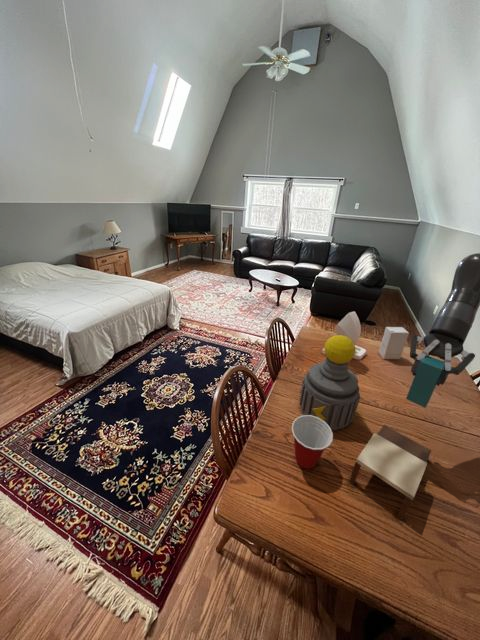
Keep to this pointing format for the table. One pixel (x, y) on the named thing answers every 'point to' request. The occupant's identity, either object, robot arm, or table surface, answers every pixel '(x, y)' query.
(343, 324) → the jewelry stand
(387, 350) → the cosmetic box
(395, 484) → the cream miniature table
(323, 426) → the plastic cup
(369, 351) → the table surface
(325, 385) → the decorative lamp
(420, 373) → the teal rectangular block
